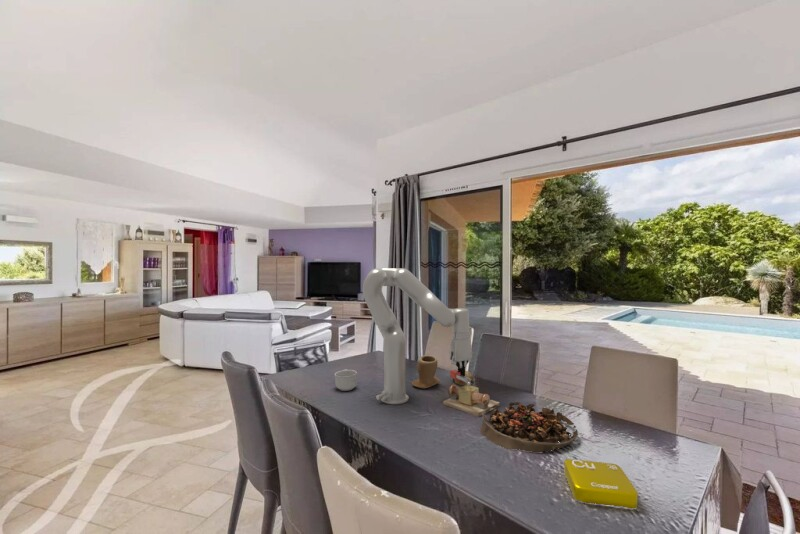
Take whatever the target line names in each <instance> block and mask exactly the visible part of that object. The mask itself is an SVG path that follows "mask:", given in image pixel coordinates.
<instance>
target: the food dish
mask: <svg viewBox="0 0 800 534" xmlns="http://www.w3.org/2000/svg"><path fill="white" fill-rule="evenodd" d="M498 405H499V406H500V404H497V405H494V406H491V407H490V408H494V407H497V406H498ZM499 406H498V407H499ZM514 406H516V408H515V407H514ZM535 406H536V405H535V404H534V403H528V405H526V406H525V405H524V404H521V402H519V401H518V402H517V401H512V402H510V403H509V404H508V408H507V407H505V410H504V411H503V413H501V412H500V409H499V408H498V407H497V408H498V409H496V408H495V409H493V413H491V411H490V410H489V409H490V408H488V409H486V410H485V411H488V412H487V413H489V419H488V417H486V416H485V414H486V413H485V411H484V413H485V414H484V413H483V415H482V423H481V426H480V429H479V431H480V434H481V435H483V436H485V438H487V441H489V440H490V441H489V442H491V443H493V444H494V445H495V446H498V445H499V447H500V446H501V447H500V448H503V447H504V448H503V449H505V448H506V449H505V450H508V449H510V450H509V451H512V450H511V449H517V450H519V449H520V450H525V451H532V452H543V451H551V450H553V449H556V450H559V449H558V448H562V447H563V446H566V445H568V446H569V445H570V444H571V443H573V442H574V441H575V440H576V439H577V437H578V436H579V432H578V429H576V428H577V426H576V425H575V423H574V422H572V420H571V419H569V418H568V417H567V416H565V415H563V413H562V412H559V411H558V412H556V413H555V410H554V408H551V409H550V408H547V407H541V411H539V412H537V411H536V409H535V408H534V407H535ZM561 422H565V423H566V424H567V425H570V426H573V429H575V430H574V431H572V434H571V432H569V431H567V429H568V427H567V425H565V426H564V424H563V423H562V424H561ZM569 434H571V435H572V436H569ZM558 441H559V442H560V443H559V442H558ZM563 448H564V447H563ZM563 448H562V449H563ZM517 450H516V451H517ZM553 451H554V450H553ZM532 452H531V453H532ZM543 453H544V452H543Z"/></svg>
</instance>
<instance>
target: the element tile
mask: <svg viewBox="0 0 800 534" xmlns="http://www.w3.org/2000/svg"><path fill="white" fill-rule="evenodd" d="M563 463H564V464H563V465H564V466H563V469H564V471H563V473H565V475H564V477H565V476H566V478H567V480H566V482H567V481H568V483H567V485H568V484H569V485H568V487H569V486H570V488H569V490H570V489H571V491H572V493H571V495H572V494H573V496H574V498H576V499H577V500H579V501H582V502H586V503H594V504H595V503H596V504H605V505H614V506H623V507H628V508H636V507H637V508H638V497H639V496H638V490H637V489H636V487H635V486H634V484H633V483H632V481H631V480H630V479H629V477H628V476H627V474H626V473H625V471H624V470H623V469H622V467H621V466H619V465H618V464H617V463H612V462H611V463H610V462H599V461H591V460H583V459H582V460H581V459H573V458H566V459H564V462H563ZM566 478H565V479H566ZM571 491H570V492H571ZM573 496H572V497H573ZM574 498H573V499H574Z"/></svg>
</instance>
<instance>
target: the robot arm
mask: <svg viewBox="0 0 800 534" xmlns="http://www.w3.org/2000/svg"><path fill="white" fill-rule="evenodd" d="M383 287H397V288H399V289H400V290H402V292H404V293H405V294H406V296H408V297H409V298H410V299H411V300H412V301H413V302H414V303H415V304H416V305H417V306H418V307H420V308H422V309H423V310H425V312H427V313H428V314H429V315H430V316H431V317H432V318H433V319H434V320H435V321H436V322H437V323H438V324H439V325H441V326H442V327H443V328H450V327H452V338H451V339H450V343H449V356H448V357H449V360H450V362H451V365H455V366H456V367H457V371H459V372H460V374H461V375H463V376H465V371H466V368H467V365H468V364H469V363H470V362H472V358H473V347H472V345H473V344H472V340H471V338H470V335H472V333H471V331H470V312H469V309H468V308H463V307H459V308H456V307H455V308H449V307H448V306H446V305H445V303H443V302H442V301H441V300H440V299H439V297H437V296H436V295H435V294H434V293H433V292H432V291H431V290H430V289H429V288H428V287H427V286H426V285H425V284H424V283H422V281H421V280H419V279H418V277H416V276H415V274H414V273H412V272H411V271H410V270H408V269H407V268H405V267H404V268H403V267H402V268H401V267H400V268H391V267H390V268H386V267H384V268H383V267H380V268H379V267H376V268H372V269H371V270H370V271H369V272H368V274H367V276H366V277H365V279H364V281H363V285H362V295H363V299H364V301H365V304H366V305H367V307H368V308H367V309H368V310H369V312H370V314H371V317H372V318H373V322H374V324H375V325H376V326H377V328H378V330H379V332H380V335H382V338H383V343H384V351H383V358H384V360H383V373H384V374H383V375H384V377H383V378H384V379H383V384H384V385H383V390H382V392H381V393H380V394H377V395H375V399H376V400H377V401H378V400H380V401H381V402H382V403H384V404H388V405H402V404H406V403H407V402H408V401H409V400H410V399H409V398H410V397H409V395H407V393H406V352H407V350H406V349H407V339H406V336H405V334H404V332H403V330H402V329H403V328H401V326H400V324H399V321H398V320H397V318H396V315H395V313H394V312H393V309H392V308H391V307H390V305H389V304H388V302H387V300H386V298H385V295H384V293H383Z"/></svg>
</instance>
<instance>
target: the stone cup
mask: <svg viewBox="0 0 800 534" xmlns="http://www.w3.org/2000/svg"><path fill="white" fill-rule="evenodd" d="M416 366H417V367H416V368H417V373H418V379H415V380H414V381H412V382H411V385H412V386H414V387H415V388H418V389H428V388H431V387H432V386H435V385H437V384H439V383H441V380H440V379H439V378H438V377H436V373H437V369H438V359H437V357H436V356H434V355H430V354H428V355H426V354H425V355H424V354H423V355H421V356H420V357H419V358H418V360H417V365H416Z"/></svg>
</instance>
